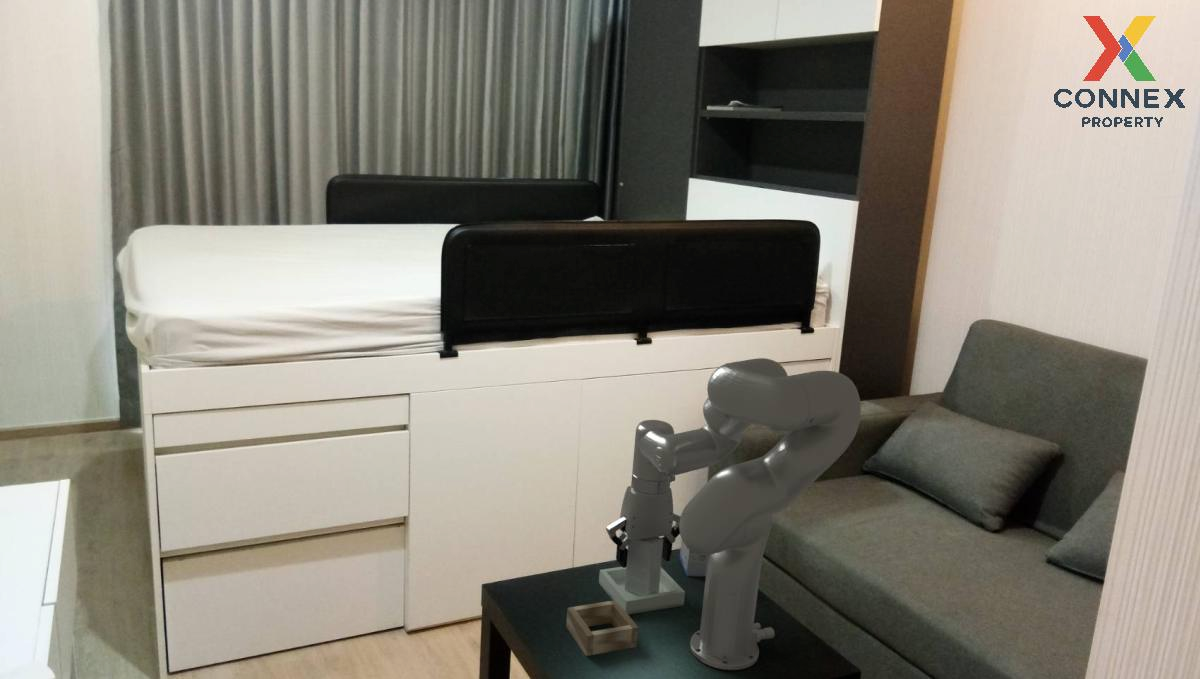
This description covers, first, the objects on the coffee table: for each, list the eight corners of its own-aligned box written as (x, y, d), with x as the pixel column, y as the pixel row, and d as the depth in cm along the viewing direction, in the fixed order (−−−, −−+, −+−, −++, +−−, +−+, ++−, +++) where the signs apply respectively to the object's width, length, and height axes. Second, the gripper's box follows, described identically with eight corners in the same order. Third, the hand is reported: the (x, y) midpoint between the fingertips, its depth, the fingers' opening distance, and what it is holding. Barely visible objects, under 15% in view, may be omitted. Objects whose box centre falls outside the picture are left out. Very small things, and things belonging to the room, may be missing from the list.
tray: (654, 574, 195) (655, 561, 194) (683, 605, 183) (685, 591, 182) (598, 583, 189) (599, 569, 189) (624, 615, 178) (626, 601, 177)
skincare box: (659, 592, 186) (664, 538, 183) (648, 600, 183) (653, 545, 180) (634, 582, 190) (639, 529, 187) (623, 589, 186) (627, 535, 183)
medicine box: (679, 559, 202) (682, 523, 200) (698, 559, 203) (702, 523, 201) (686, 576, 195) (690, 539, 193) (706, 576, 195) (710, 539, 193)
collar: (614, 618, 176) (615, 599, 176) (636, 646, 168) (638, 627, 167) (566, 626, 173) (567, 607, 172) (586, 656, 164) (587, 636, 163)
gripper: (680, 471, 187) (672, 547, 191) (602, 479, 180) (596, 558, 184) (698, 485, 181) (689, 564, 185) (618, 494, 174) (611, 576, 178)
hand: (643, 561), depth 185 cm, fingers open, 9 cm apart
